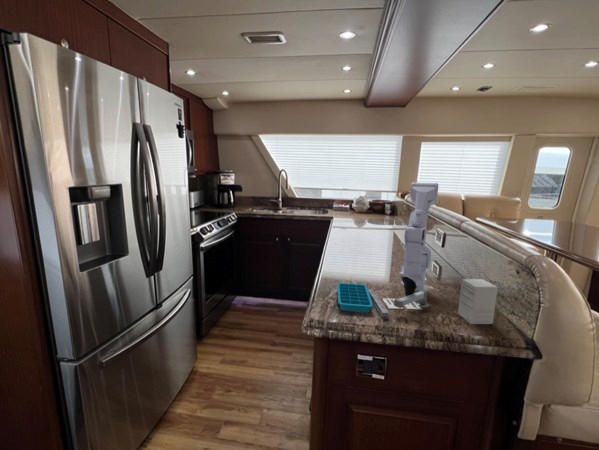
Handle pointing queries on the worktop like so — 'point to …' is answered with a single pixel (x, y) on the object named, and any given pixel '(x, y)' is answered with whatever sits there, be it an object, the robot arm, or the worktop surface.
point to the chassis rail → (378, 304)
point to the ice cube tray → (354, 297)
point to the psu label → (390, 303)
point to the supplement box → (477, 301)
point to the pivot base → (422, 305)
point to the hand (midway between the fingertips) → (409, 297)
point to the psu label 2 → (412, 306)
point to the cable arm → (412, 299)
